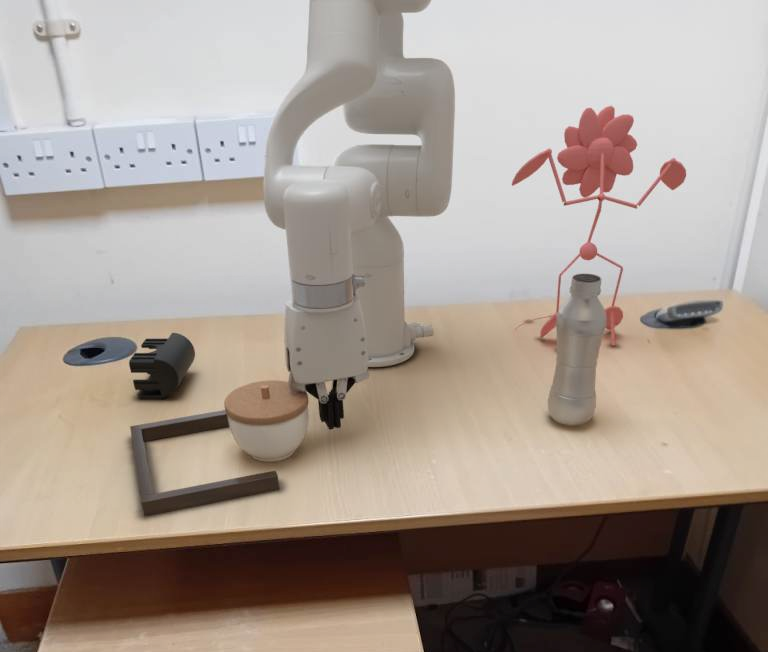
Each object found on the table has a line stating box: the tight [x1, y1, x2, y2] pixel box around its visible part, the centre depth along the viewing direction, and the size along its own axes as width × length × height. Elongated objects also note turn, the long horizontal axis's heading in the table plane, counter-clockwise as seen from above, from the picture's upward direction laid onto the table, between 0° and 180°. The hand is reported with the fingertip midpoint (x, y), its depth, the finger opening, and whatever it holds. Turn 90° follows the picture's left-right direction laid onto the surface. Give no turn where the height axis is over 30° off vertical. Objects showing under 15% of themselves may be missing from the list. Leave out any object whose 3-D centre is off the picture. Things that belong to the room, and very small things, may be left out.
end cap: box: [128, 332, 196, 400], centre depth 121 cm, size 10×7×7 cm
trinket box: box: [223, 380, 309, 463], centre depth 103 cm, size 11×11×9 cm
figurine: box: [511, 105, 687, 347], centre depth 125 cm, size 15×26×35 cm, turn 98°
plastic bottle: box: [547, 273, 607, 426], centre depth 105 cm, size 6×7×20 cm
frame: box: [129, 409, 280, 517], centre depth 103 cm, size 16×20×2 cm
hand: (332, 424), depth 106 cm, fingers closed
